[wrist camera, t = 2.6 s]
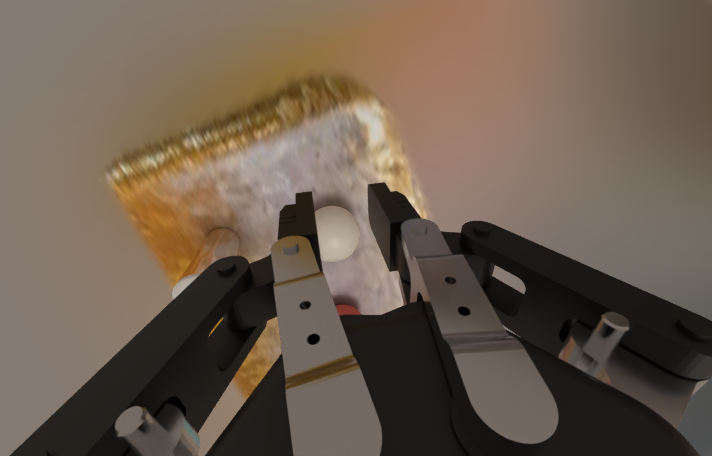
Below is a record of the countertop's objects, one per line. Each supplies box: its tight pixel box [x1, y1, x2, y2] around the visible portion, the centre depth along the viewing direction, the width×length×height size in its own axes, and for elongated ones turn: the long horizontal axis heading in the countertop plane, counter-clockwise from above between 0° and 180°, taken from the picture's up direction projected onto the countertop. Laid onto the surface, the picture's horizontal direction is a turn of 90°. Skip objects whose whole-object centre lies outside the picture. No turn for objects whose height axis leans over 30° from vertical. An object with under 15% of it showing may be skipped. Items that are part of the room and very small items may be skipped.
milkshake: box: [172, 228, 240, 300], centre depth 26 cm, size 5×5×10 cm
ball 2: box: [336, 304, 361, 315], centre depth 36 cm, size 6×6×6 cm
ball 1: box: [315, 206, 360, 262], centre depth 29 cm, size 6×6×6 cm
